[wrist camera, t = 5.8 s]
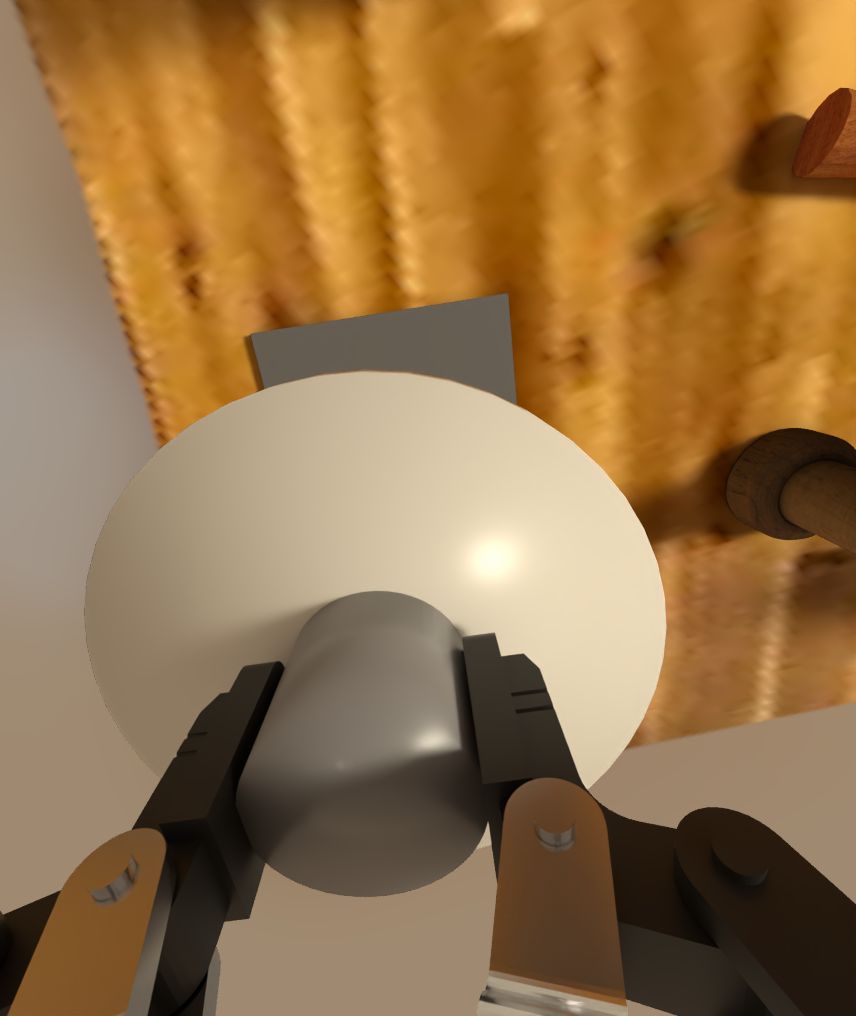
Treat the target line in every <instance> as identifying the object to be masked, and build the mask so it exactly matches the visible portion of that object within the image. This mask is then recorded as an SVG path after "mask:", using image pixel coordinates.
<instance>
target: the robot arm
mask: <svg viewBox="0 0 856 1016" xmlns="http://www.w3.org/2000/svg"><path fill="white" fill-rule="evenodd" d="M462 643H463V650H464V656H465V663H466V670H467V677H468V684H469V691H470V698H471V705H472V712H473V718H474V725H475V732H476V739H477V746H478V753H479V760H480V767H481V774H482V781H483V788H484V795H485V802H486V809H487V816H488V823H489V830H490V837H491V844H492V851H493V857H494V864H495V871H496V878H497V895H496V906H495V916H494V926H493V938H492V948H491V958H490V969H489V976H488V982H487V987H486V990H485V991H483V992H482V994H481V996H480V1000H479V1004H478V1008H477V1014H476V1016H628V1012H627V1004H626V999H627V1000H630V1001H633V1002H637V1003H640V1004H643V1005H646V1006H649V1007H652V1008H655V1009H658V1010H661V1011H664V1012H668V1013H671V1014H674V1015H677V1016H856V904H855V903H854V902H853V901H852V900H850V899H849V898H848V897H847V896H846V895H845V894H844V893H843V892H842V891H840V890H839V889H838V888H837V887H836V886H835V885H834V884H833V883H831V882H830V881H829V880H828V879H827V878H826V877H825V876H824V875H822V874H821V873H820V872H819V871H818V870H817V869H816V868H815V867H814V866H812V865H811V864H810V863H809V862H808V861H807V860H806V859H805V858H803V857H802V856H801V855H800V854H799V853H798V852H797V851H795V850H794V849H793V848H792V847H791V846H790V845H789V844H788V843H786V842H785V841H784V840H783V839H782V838H781V837H780V836H779V835H777V834H776V833H775V832H774V831H772V830H771V829H770V828H769V827H767V826H766V825H764V824H762V823H761V822H759V821H757V820H756V819H754V818H752V817H750V816H748V815H745V814H743V813H740V812H737V811H734V810H730V809H725V808H718V807H707V808H702V809H697V810H695V811H693V812H690V813H689V814H688V815H686V816H685V817H684V818H683V819H682V820H681V821H680V823H679V825H678V827H677V829H674V828H669V827H665V826H659V825H654V824H649V823H644V822H639V821H635V820H632V819H628V818H626V817H623V816H620V815H618V814H616V813H614V812H613V811H611V810H609V809H608V808H606V807H605V806H603V805H602V804H601V803H599V802H598V801H597V800H596V799H595V798H594V797H593V796H592V795H591V794H590V793H589V791H588V790H587V789H586V787H585V786H584V784H583V783H582V781H581V778H580V776H579V774H578V771H577V768H576V766H575V763H574V760H573V757H572V755H571V752H570V749H569V747H568V744H567V741H566V738H565V736H564V733H563V730H562V728H561V725H560V722H559V719H558V717H557V714H556V711H555V709H554V707H553V703H552V700H551V698H550V695H549V692H548V691H547V687H546V684H545V681H544V679H543V676H542V673H541V671H540V668H539V667H538V666H537V665H535V664H534V663H533V662H532V661H531V660H530V659H529V658H528V657H527V656H526V655H525V654H524V653H523V654H515V655H507V656H501V654H500V650H499V646H498V642H497V638H496V635H495V632H494V633H486V634H479V635H471V636H464V637H462ZM284 669H285V667H284V665H283V664H282V662H280V661H275V662H268V663H261V664H253V665H246V666H244V667H243V668H242V669H241V671H240V672H239V674H238V676H237V678H236V680H235V682H234V684H233V685H232V687H231V689H230V691H229V692H226V693H220V694H219V695H218V696H217V697H216V698H215V699H214V700H213V701H212V702H211V703H210V704H209V705H207V706H206V707H205V708H204V709H203V710H202V711H201V712H200V713H199V715H198V717H197V719H196V720H195V722H194V724H193V725H192V727H191V729H190V731H189V732H188V734H187V739H184V741H183V743H182V744H181V746H180V748H179V749H178V751H177V756H176V757H175V758H173V760H172V761H171V763H170V765H169V766H168V768H167V770H166V772H165V773H164V775H163V777H162V778H161V780H160V782H159V784H158V786H157V787H156V789H155V790H154V792H153V794H152V796H151V797H150V799H149V801H148V802H147V804H146V806H145V808H144V809H143V811H142V813H141V814H140V816H139V818H138V819H137V821H136V823H135V825H134V826H133V828H132V830H130V831H127V832H125V833H122V834H120V835H118V836H116V837H114V838H112V839H110V840H109V841H107V842H106V843H104V844H103V845H101V846H100V847H99V848H97V849H96V850H95V851H93V852H92V853H91V854H90V855H89V856H88V857H87V858H86V859H84V860H83V862H82V863H81V864H80V865H79V866H78V867H77V868H76V869H75V871H74V872H73V873H72V874H71V875H70V877H69V878H68V880H67V881H66V883H65V884H64V886H63V888H62V890H60V891H58V892H56V893H54V894H51V895H49V896H46V897H44V898H42V899H39V900H37V901H35V902H33V903H30V904H28V905H25V906H23V907H20V908H18V909H16V910H13V911H11V912H9V913H6V914H4V915H3V914H2V913H1V911H0V1016H215V1013H216V1004H217V995H218V986H219V977H220V964H221V962H220V955H219V952H218V949H217V947H216V945H217V942H218V939H219V936H220V933H221V930H222V927H223V923H224V922H226V921H234V920H242V919H249V917H250V914H251V911H252V907H253V904H254V900H255V897H256V893H257V890H258V887H259V883H260V880H261V876H262V873H263V869H264V866H265V862H264V861H263V860H262V859H261V858H260V857H259V856H258V855H257V854H256V853H255V852H254V850H253V849H252V846H251V843H250V841H249V838H248V836H247V833H246V831H245V828H244V826H243V823H242V821H241V818H240V815H239V813H238V810H237V808H236V792H237V788H238V783H239V780H240V778H241V775H242V773H243V770H244V768H245V765H246V763H247V760H248V758H249V756H250V753H251V751H252V748H253V746H254V743H255V741H256V738H257V736H258V733H259V731H260V728H261V726H262V724H263V721H264V719H265V716H266V714H267V711H268V709H269V706H270V704H271V701H272V699H273V697H274V694H275V692H276V689H277V687H278V684H279V682H280V679H281V677H282V674H283V672H284Z"/></svg>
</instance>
